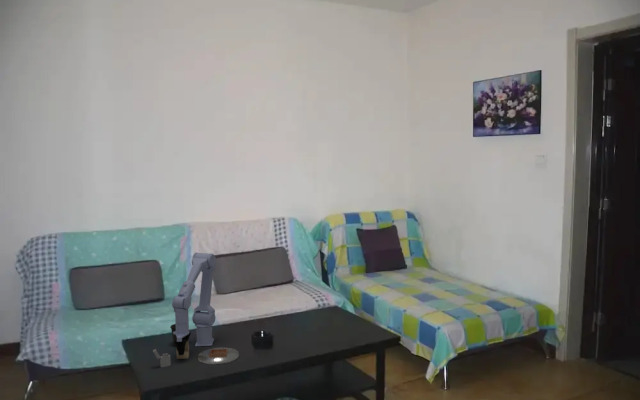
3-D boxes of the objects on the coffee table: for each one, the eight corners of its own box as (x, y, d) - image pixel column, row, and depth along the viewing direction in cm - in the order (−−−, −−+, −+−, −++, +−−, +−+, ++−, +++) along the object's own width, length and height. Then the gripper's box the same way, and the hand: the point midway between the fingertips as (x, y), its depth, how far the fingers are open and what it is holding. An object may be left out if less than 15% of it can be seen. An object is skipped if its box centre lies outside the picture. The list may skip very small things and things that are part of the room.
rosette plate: (201, 350, 239) (201, 345, 239) (240, 348, 240) (240, 343, 240) (194, 365, 221) (194, 359, 221) (236, 363, 222) (236, 358, 222)
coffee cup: (183, 347, 242) (182, 327, 241) (167, 346, 244) (166, 326, 243) (190, 342, 250) (190, 322, 249) (175, 341, 252) (175, 321, 251)
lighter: (170, 364, 222) (169, 346, 222) (170, 365, 221) (170, 347, 220) (153, 367, 219) (152, 349, 218) (153, 368, 217) (153, 350, 217)
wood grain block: (178, 356, 232) (177, 341, 231) (189, 355, 232) (188, 340, 231) (176, 358, 229) (176, 343, 228) (188, 358, 229) (187, 343, 228)
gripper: (176, 317, 236) (177, 346, 237) (169, 327, 222) (170, 358, 223) (191, 317, 237) (192, 346, 238) (185, 327, 222) (186, 357, 223)
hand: (182, 351), depth 230 cm, fingers open, 7 cm apart
